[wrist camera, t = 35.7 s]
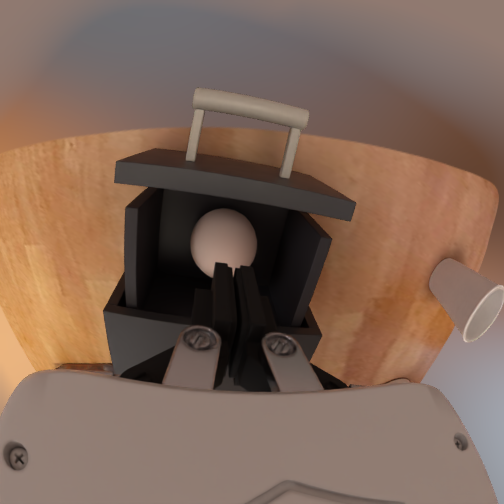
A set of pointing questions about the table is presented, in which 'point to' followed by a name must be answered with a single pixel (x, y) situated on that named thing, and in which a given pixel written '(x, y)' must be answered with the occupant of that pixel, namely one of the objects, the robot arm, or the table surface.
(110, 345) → the cabinet
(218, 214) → the egg
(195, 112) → the drawer
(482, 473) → the robot arm
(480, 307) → the dixie cup
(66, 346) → the table surface
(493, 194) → the table surface
